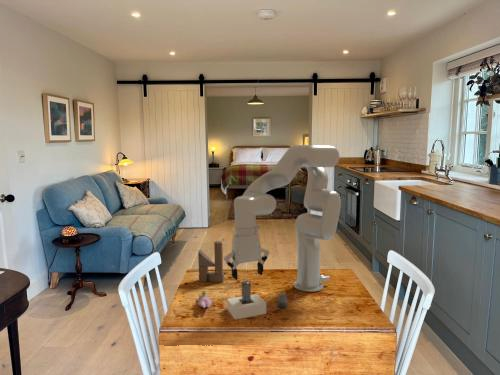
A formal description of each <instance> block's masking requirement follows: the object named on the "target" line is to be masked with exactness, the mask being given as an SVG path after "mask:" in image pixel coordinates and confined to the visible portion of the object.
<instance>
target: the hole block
mask: <svg viewBox="0 0 500 375" xmlns="http://www.w3.org/2000/svg"><path fill="white" fill-rule="evenodd" d="M226 309H227V311H228V312H229V314H230V315H231V316H232V318H233V319H234V320H240V319H244V318H251V317H256V316H261V315H266V314H267V302H266V301H264V299H263V298H262V297H261V296H260V295H259V294H258V293H255V294H251V303H248V304H242V295H241V296H237V297H231V298H230V297H229V298H226Z"/></svg>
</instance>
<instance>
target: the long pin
mask: <svg viewBox="0 0 500 375" xmlns="http://www.w3.org/2000/svg"><path fill="white" fill-rule="evenodd" d="M251 286H252V284H251V281H249V280H244V281H242V282H241V296H242V304H248V303H251V295H252V292H251V290H252V289H251Z"/></svg>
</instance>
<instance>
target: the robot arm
mask: <svg viewBox="0 0 500 375" xmlns="http://www.w3.org/2000/svg"><path fill="white" fill-rule="evenodd" d="M339 161H340V152H339V150H338V149H337V147H335V146H333V145H332V146H331V145H317V144H316V145H315V144H314V145H313V144H296V145H295V144H294V145H292V146H290V147H289V148H287V150H286V152H284V154H283V155H282V156H281V158H280V159H279V160H278V161H277V163H276V165H274V167H273V168H272V169H270V170H269V171H267V172H265V173H264V174H262V175H261V176H259V177H258V178H256V179H254V180H253V182H251V183H250V185H249V186H248V187H247V188H246V189H245V190H244V192H243V194H242V195H240V196H237V197H236V198H234V200H233V202H234V203H233V205H234V206H233V209H234V228H235V230H234V231H235V233H234V234H232V235H233V236H232V244H231V245H232V246H231V251H230V252H229V253H228V254H227V255H225V256H224V257H223V260H224V262H225V264H226V265H228V267H229V268H231V277H232V278H233V279H234V280H235V281H237V280H238V276H239V275H238V269H237V268H238V266H239V264H245V263H251V262H256V261H258V262H257V264H256V265H257V269H256V270H257V274H258V275H260V276H263V272H264V264H265V262H266V261H267V259H268V257H269V254H270V251H269V250H268V249H266V248H263V247H261V240H260V235H259V233H258V230H259V231H260V230H261V226H260V225H257V216H264V215H265V216H266V215H270V214H272V213H273V212H274V211H275V209H276V207H277V200H276V199H275V197H274V196H273V195H271V194H268V193H267V192H269V191H271V190H275V189H278V188H281V187H284V186H287V185H289V184H291V182H292V181H293V180H294V178H295V176H296V175H297V174H298V173H299V171H300V170H301V169H302V168H304V167H305V169H306V170H307V182H306V183H307V184H306V188H305V192H304V197H303V206H304V208H306V209H307V210H309V211H313V212H317V213H322V214H321V215H319V214H314V213H309V212H308V213H307V212H306V213H301V214H300V215H298V216H297V218H296V220H295V224H294V226H295V228H294V229H295V232H296V238H297V266H296V267H297V270H296V271H297V275H296V276H297V279H296V280H295V281H294V282H293V287H294V289H296V290H299V291H301V292H309V293H311V292H312V293H314V292H319V291H321V290H323V288H324V282H325V281H327V282H328V281H330V280H331V277H330V275H325V276H324V274H321V244H320V240H322V241H330V240H331V239H333V237H334V236H335V234H336V232H337V227H338V224H339V217H340V214H341V213H340V212H341V206H342V199H341V196H340V194H339V193H338V191H334V190H331V189H328V186H329V185H328V184H329V175H328V172H327V170H326V168H333V167H335V166H336V165H338V163H339ZM262 253H263V255H262ZM230 259H232V261H230Z"/></svg>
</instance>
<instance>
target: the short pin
mask: <svg viewBox="0 0 500 375" xmlns="http://www.w3.org/2000/svg"><path fill="white" fill-rule="evenodd" d="M277 296H278V297H277V298H278V302H277V303H278V305H277V308H279V309H281V310H284V309H287V307H288V295H287V294H286V293H280V294H278V295H277Z"/></svg>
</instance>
